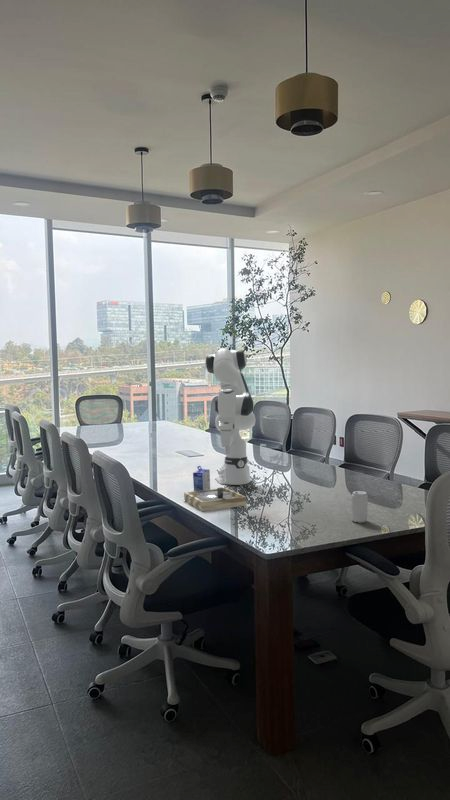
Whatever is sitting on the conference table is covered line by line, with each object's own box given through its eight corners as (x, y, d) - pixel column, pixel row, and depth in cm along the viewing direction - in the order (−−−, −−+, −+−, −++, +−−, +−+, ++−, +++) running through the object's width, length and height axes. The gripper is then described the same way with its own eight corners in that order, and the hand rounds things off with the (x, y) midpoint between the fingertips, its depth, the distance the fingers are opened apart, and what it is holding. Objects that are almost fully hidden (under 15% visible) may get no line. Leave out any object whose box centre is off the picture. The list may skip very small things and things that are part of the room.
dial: (191, 496, 279) (191, 483, 279) (223, 492, 286) (223, 480, 286) (205, 504, 264) (204, 490, 264) (238, 499, 271) (238, 487, 271)
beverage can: (349, 519, 244) (349, 490, 243) (364, 518, 244) (364, 490, 244) (354, 523, 238) (354, 494, 237) (369, 523, 238) (369, 493, 237)
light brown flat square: (184, 500, 281) (184, 491, 280) (226, 495, 290) (226, 487, 290) (201, 511, 261) (201, 501, 261) (246, 505, 270) (246, 496, 270)
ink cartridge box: (200, 492, 298) (200, 464, 297) (210, 493, 296) (210, 464, 295) (193, 497, 288) (192, 467, 287) (203, 497, 287) (203, 468, 286)
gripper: (223, 421, 283) (223, 450, 284) (218, 426, 263) (218, 457, 264) (236, 421, 282) (236, 450, 283) (232, 426, 262) (232, 457, 263)
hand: (228, 453), depth 273 cm, fingers closed
